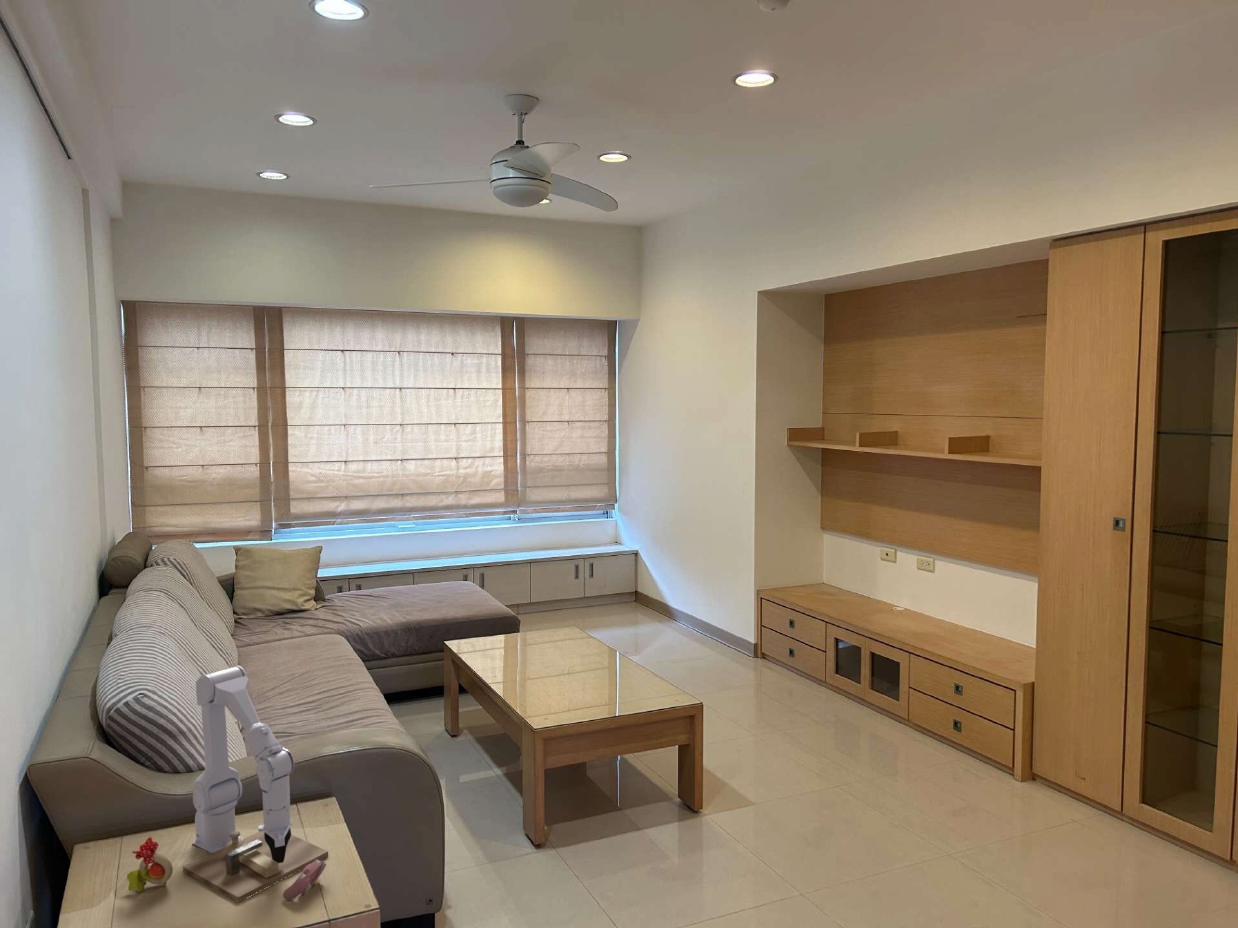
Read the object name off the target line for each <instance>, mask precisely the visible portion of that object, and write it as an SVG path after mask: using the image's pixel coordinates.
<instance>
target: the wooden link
mask: <svg viewBox="0 0 1238 928" xmlns="http://www.w3.org/2000/svg"><path fill="white" fill-rule="evenodd" d="M238 836H239V837H241V831H239V830H236V831H234V832H232V833H230V837H231V838H232V841H230V842H228V843H227V844H226V853H229V852H231V851H233V850H235V849H237V848H239V847H241V846H244V845H246V843H245V841H244V840H242V839H238ZM239 861H240V862H241V863H243V864H245V865H246V866H248V867H249V868H251V869H253V870H254V871H256V872H257V873H259V874H261V875H262V876H264V877H265V878H268V877H270V876H272V875H274V874H276V873H278V872H279V865H278V862H276V861H274V860H273V859H271V858H269V857H268V856H266V855H264V854H263V853H261V852H259V851H258V850H256V849H255V850H253V851H250V852H248V853H246V854H244V855H242V856H240V857H239Z"/></svg>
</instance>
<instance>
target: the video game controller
mask: <svg viewBox="0 0 1238 928" xmlns="http://www.w3.org/2000/svg"><path fill="white" fill-rule="evenodd" d="M326 866H327V863H326V862H324V861H323V860H320V861H318V860H317V859H316V861H314V862H313V863H311V864H309V865H307V866H306V867H305V868H304V869H303V870H302V872H301V873H300V875H299V876H298V877H297V878H296V879H295V881H294V882H293V883H292V884H291V885H289V886H288V887H287V888H286V889H284V890H283V893H282V897H283V899H284V900H286V901H291V900H293V899H295V898H297V897H299V896H300V895H302V896H304V895H306V893H307V892H308V891H309V890H310V889H311V888H312V887H313V886H314V885H317V881H318V879H319V878H320V876H321V874H323V872H324V870H325V868H326Z"/></svg>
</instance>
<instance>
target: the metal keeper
mask: <svg viewBox="0 0 1238 928" xmlns="http://www.w3.org/2000/svg"><path fill="white" fill-rule="evenodd" d="M261 846H262V841H260V840H258V839H257V840H254V841H252V842H250V843H248V844H246V845H244V846H241V847H239V848H237V849H235V850H233V851H231V852H229V853H226V872H227V874H229V875H231V876H233V875H235V874H237V873H239V872H240V863H239V857H240V856H242V855H244V854H246V853H248V852H250V851H253V850H255V849H257V848H259V847H261Z"/></svg>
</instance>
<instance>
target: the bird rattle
mask: <svg viewBox="0 0 1238 928" xmlns="http://www.w3.org/2000/svg"><path fill="white" fill-rule="evenodd" d="M159 846H160V845H159V843H158V842H157V841H153V837H152V836H149V837H148V838H147V839H146V841H145V842H144V843H143V844H140V845H139V850H134V851H132V854H135V856H134V857H135V859H136V860H140V859H141V861H140V863H139V869H134V870H132V871H130V872H128V873H127V875H126V879H127V881H128V882H129V883H128V891H130V892H131V891H133V890H135V889H136V891H138V892H139V893H141V892H143V891H144V889H145V886H144V884H146V883H147V882H148V883H149V884H152V885H156V886H157V885H158V886H160V887H165V886H166V885H167V882H168V881H169V880H170V879H171V877H172V875H173V871H174V870H173V869H174V868H173V864H172V862H171V861H170V860H171V859H170V860H169V858H168V857H166V856H165V855H163V854H160V853H157V850H158V847H159Z"/></svg>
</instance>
